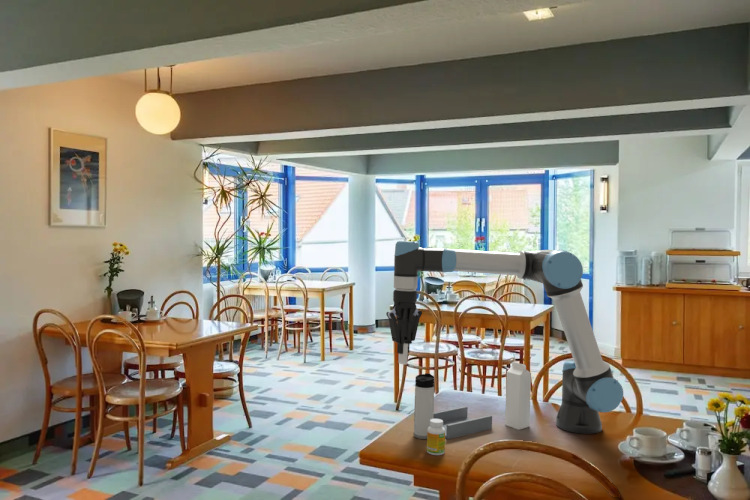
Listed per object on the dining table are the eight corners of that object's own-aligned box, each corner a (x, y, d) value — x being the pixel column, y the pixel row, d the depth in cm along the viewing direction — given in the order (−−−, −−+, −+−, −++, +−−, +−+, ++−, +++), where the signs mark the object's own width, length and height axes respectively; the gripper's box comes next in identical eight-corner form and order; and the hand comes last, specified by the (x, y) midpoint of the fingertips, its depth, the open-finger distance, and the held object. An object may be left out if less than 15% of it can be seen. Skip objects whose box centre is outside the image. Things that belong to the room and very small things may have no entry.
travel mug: (435, 434, 190) (437, 374, 190) (429, 440, 184) (430, 378, 184) (418, 431, 193) (419, 372, 192) (411, 437, 187) (412, 376, 186)
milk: (518, 430, 197) (520, 366, 196) (504, 425, 202) (506, 362, 201) (529, 426, 200) (531, 364, 200) (515, 421, 205) (517, 360, 205)
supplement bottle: (439, 457, 171) (440, 424, 170) (423, 453, 173) (424, 421, 173) (447, 451, 175) (448, 419, 175) (431, 447, 178) (432, 416, 178)
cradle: (491, 428, 197) (492, 415, 197) (448, 439, 186) (448, 425, 186) (465, 418, 208) (465, 406, 208) (422, 427, 197) (423, 414, 196)
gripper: (413, 288, 189) (411, 359, 189) (381, 289, 181) (379, 363, 182) (428, 290, 183) (426, 363, 183) (396, 291, 175) (393, 368, 176)
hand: (402, 363), depth 183 cm, fingers closed
